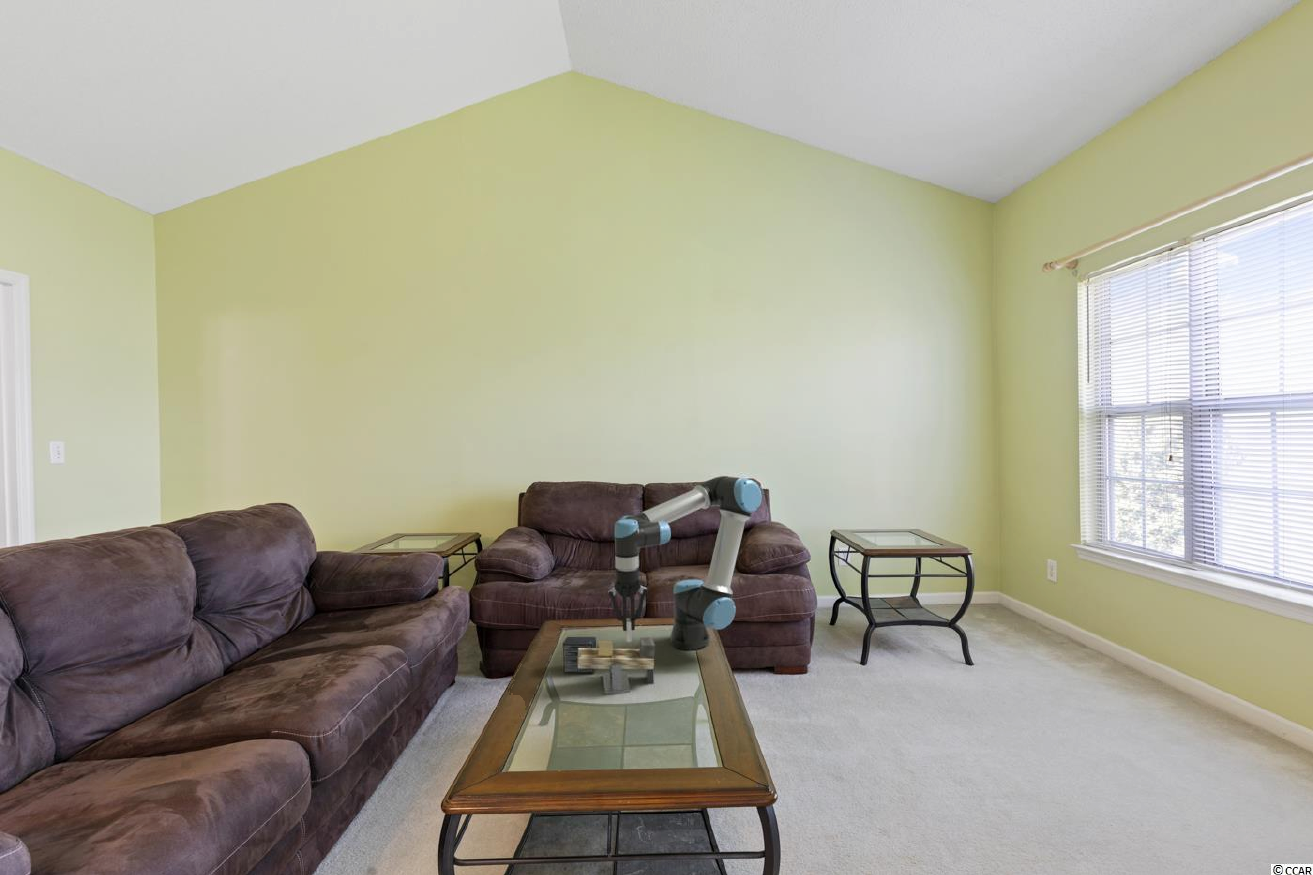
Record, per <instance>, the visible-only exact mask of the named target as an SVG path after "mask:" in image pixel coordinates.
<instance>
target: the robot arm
mask: <svg viewBox="0 0 1313 875" xmlns="http://www.w3.org/2000/svg"><path fill="white" fill-rule="evenodd" d="M761 503H762V491H761V489H760V487H759V485H758V484H757V482H755V481H754V480H751V479H749V478H748V479H747V478H743V477H734V476H728V475H722V476H717V477H713V478H712V479H708V480H706V481H703V482H701V483H699V484H696V485H695V486H694V487H693V489H692V490H690V491H688V492H686V493H682V494H681V495H678V496H676V497H673V498H672V499H670V500H667V501H665V502H663V503H660V504H658V505H656V506H653V507H651V508H649V509H647V510H644V511H642V512H640V513H637V514H634V515H630V514H629V515H623V516H622V517H621V518H620V519H619V520H617V521H616V522H615V523H614V536H613V537H614V551H615V552H614V553H615V554H614V557H615V584H614V586H613V588H611V589H608V590H607V592H608V594H607V595H608V596H609V597H610V599H611V600H612V604H613V605H612V606H613V609H614V611H615V615H616V618H617V621H621V622H622V630H623V632H625V636H626V637H625V639H626V643H631V642H632V640H633V639H632V638H633V637H632V634H633V633H632V631H635V630H636V629H635V626H636V625H635V623H636V622H635V621H636V620H638V619H640V618H641V616H642V615H641V614H642V610H643V605H644V600H645V597H646V595H647V594H648V589H647V587H646V586H642V584H641V583H640V568H639V566H640V559H639V557H640V556H639V554H640V553H639V549H641V548H648V547H649V548H650V547H654V546H661V545H664V544H666V543H669V542H670V540H671V537H672V535H671V534H672V532H671V527H670V525H669V524H670V523H672V522H675V521H676V520H679V519H681V518H683V517H686V516H687V515H689V514H692V513H694V512H696V511H698V510H700V509H703V510H706V509H708V508H712V507H719V508H718V509H719V512H720V514H721V519H720V524H719V526H718V532H717V536H716V540H715V545H714V548H713V552H712V558H711V561H710V564H709V565H710V566H709V569H708V574H707V578H706V580H705V581H703V580H701V579H685V580H680V581H678V582H676V583H675V584H674V585H673V591H672V592H673V593H672V595H673V613H674V614H673V616H674V621H673V622H674V623H673V625H672V629H671V632H670V638H669V639H670V641H669V642H670V644H671V646H673V647H674V648H677V649H680V650H685V649H689V651H693V650H692V649H695V650H699V649H698V648H701V649H703V648H702V647H704V646H706V645H708V644H709V643H711V634H710V630H709V628H710V629H714V630H723V629H725V628H727V626H730V625H731V623H732V622H733V620H734V618H735V615H736V613H737V612H736V610H737V607H736V605H735V602H734V601H733V596H734V595H733V593H734V592H733V590H732V588H731V584H732V579H733V575H734V571H735V568H736V563H737V558H738V554H739V549H740V545H741V542H742V541H741V540H742V537H743V533H744V529H745V524H746V522H747V521H748V520H750V519H751V518H752V517H751V516H752V513H754V512H756V511H757V509H759V507H760V506H761ZM638 591H639V596H638V602H637V606H636V611H635V596H636V595H637V593H638ZM616 592H617V593H616ZM617 594H618V595H619V596H620V597H621V613H620V609H619V606H618V602H617V599H616V595H617ZM627 598H629V617H630V618H628V616H627V611H628V610H627ZM709 645H710V644H709ZM709 645H708V646H709ZM706 647H707V646H706ZM704 648H705V647H704Z"/></svg>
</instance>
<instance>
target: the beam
mask: <svg viewBox="0 0 1313 875" xmlns="http://www.w3.org/2000/svg"><path fill="white" fill-rule="evenodd" d="M655 647H656V644H655V641H654V639H653V638H652V637H640V638H639V648H618V649H616V648H613V653H612V658H597V649H598V647H596V648H578V668H596V669H602V670H603V669H604V670H605V669H606V670H607V669H609V670H610V669H612V664H618V663H621V667H622V670H623V669H624V670H645V669H653V670H654V666H655V664H654V663H655V658H654V657H655V650H656V649H655Z"/></svg>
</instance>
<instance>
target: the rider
mask: <svg viewBox="0 0 1313 875" xmlns="http://www.w3.org/2000/svg"><path fill="white" fill-rule="evenodd" d="M597 642H598V643H597V648H598V649H597V658H612V653H613V649H614V645H613V641H611V640H610V641H609V640H598V641H597Z"/></svg>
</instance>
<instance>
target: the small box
mask: <svg viewBox="0 0 1313 875" xmlns="http://www.w3.org/2000/svg"><path fill="white" fill-rule="evenodd" d="M578 648H597V637H596V636H566V638H565V640H564V641H563V642H562V656H563V657H562V658H563V674H569V675H570V674H571V675H573V674H574V675H576V674H578V675H579V674H580V675H581V674H585V675H586V674H587V675H593V674H595V671H596V669H597V668H578Z"/></svg>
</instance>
